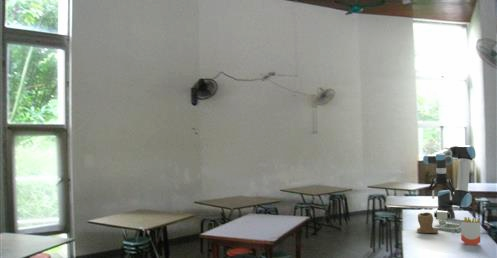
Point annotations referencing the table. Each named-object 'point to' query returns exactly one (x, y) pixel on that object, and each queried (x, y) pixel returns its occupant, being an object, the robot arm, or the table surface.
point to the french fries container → (470, 231)
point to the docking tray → (450, 228)
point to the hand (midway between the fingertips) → (442, 199)
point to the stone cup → (426, 223)
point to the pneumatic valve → (442, 216)
